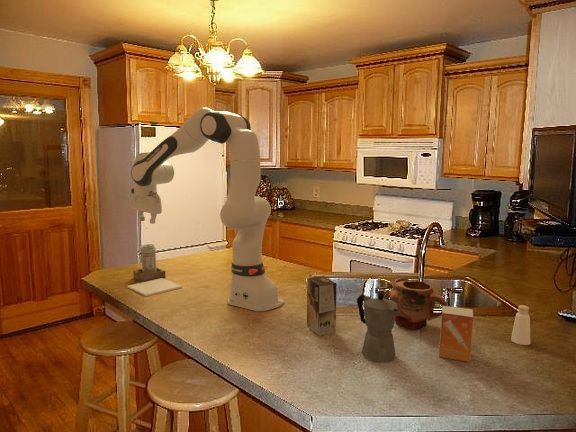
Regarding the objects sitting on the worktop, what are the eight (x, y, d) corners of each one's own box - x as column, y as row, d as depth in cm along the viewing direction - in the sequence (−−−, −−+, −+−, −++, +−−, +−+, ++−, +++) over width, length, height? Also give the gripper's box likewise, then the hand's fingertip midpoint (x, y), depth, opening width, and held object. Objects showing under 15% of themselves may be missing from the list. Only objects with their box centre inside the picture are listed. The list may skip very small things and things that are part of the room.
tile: (182, 287, 181) (182, 286, 181) (146, 296, 170) (145, 294, 169) (162, 279, 192) (162, 278, 192) (127, 287, 181) (127, 285, 181)
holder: (165, 278, 194) (165, 270, 193) (144, 283, 187) (144, 275, 186) (154, 273, 201) (154, 266, 200) (133, 278, 194) (133, 270, 194)
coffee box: (336, 333, 136) (337, 283, 134) (318, 336, 134) (319, 285, 132) (323, 322, 145) (323, 275, 143) (305, 325, 142) (306, 277, 140)
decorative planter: (452, 327, 141) (455, 286, 139) (440, 340, 131) (442, 296, 129) (394, 313, 153) (396, 275, 151) (379, 324, 143) (380, 283, 141)
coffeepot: (408, 359, 119) (411, 296, 116) (384, 369, 114) (387, 303, 111) (367, 339, 132) (369, 282, 129) (344, 347, 126) (346, 287, 124)
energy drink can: (157, 276, 197) (156, 243, 195) (155, 280, 192) (154, 246, 189) (143, 276, 196) (142, 244, 194) (141, 280, 191) (140, 247, 188)
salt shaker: (507, 337, 134) (510, 303, 132) (525, 337, 134) (528, 303, 132) (515, 345, 128) (518, 309, 127) (534, 345, 128) (537, 309, 127)
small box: (438, 357, 120) (441, 312, 119) (439, 348, 126) (442, 305, 124) (470, 362, 118) (473, 316, 116) (470, 352, 123) (473, 308, 121)
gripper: (164, 191, 183) (166, 224, 185) (142, 188, 198) (143, 218, 200) (151, 192, 179) (152, 226, 181) (128, 189, 193) (130, 220, 195)
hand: (147, 222), depth 190 cm, fingers open, 8 cm apart
